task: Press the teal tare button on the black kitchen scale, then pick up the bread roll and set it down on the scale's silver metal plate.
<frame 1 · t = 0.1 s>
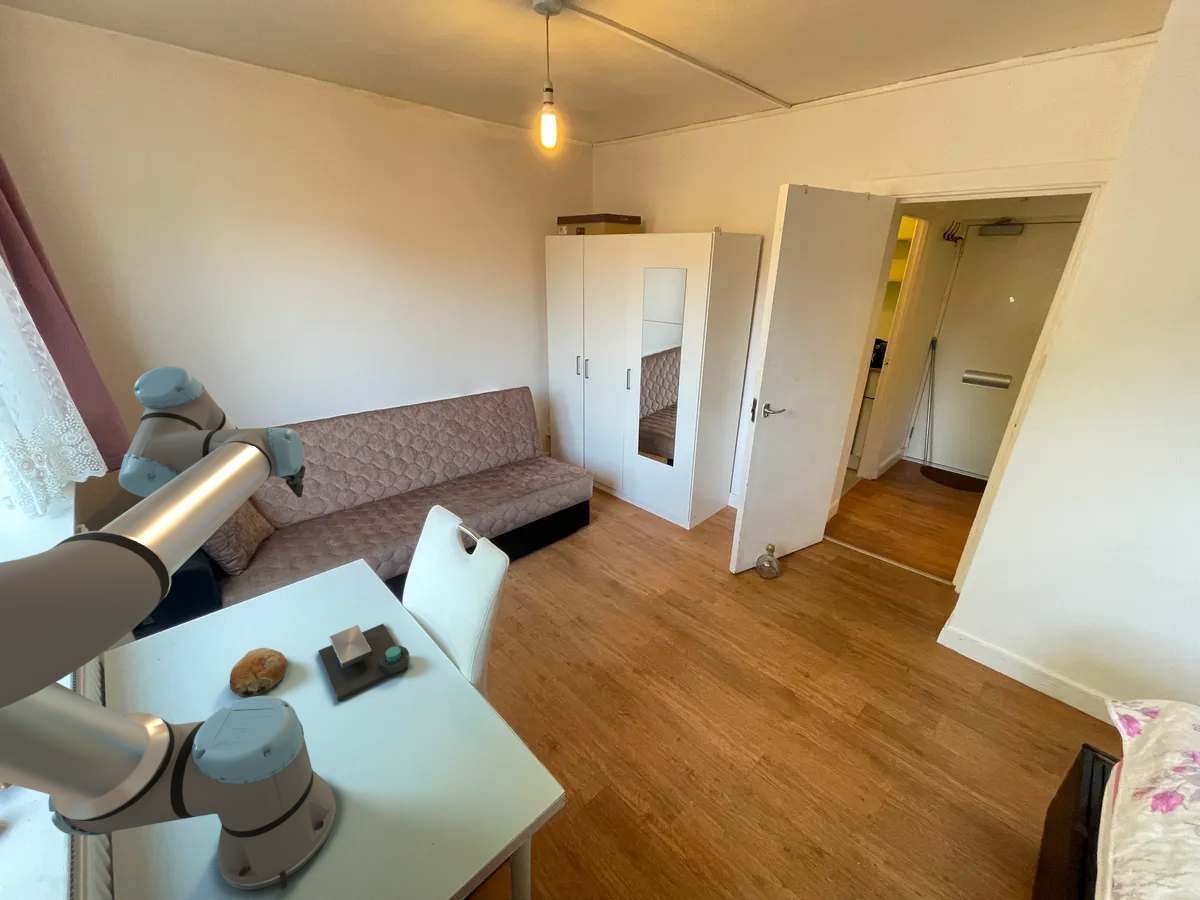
hand: (265, 493, 103), 36 cm above the table, tool tilted 35°, fingers open, 13 cm apart
bread roll: (261, 680, 102), on the table
tare button: (393, 654, 105), point 3 cm above the table, slide at 0.1 cm
scale: (363, 661, 108), on the table
silver metal plate: (353, 659, 108), resting on scale
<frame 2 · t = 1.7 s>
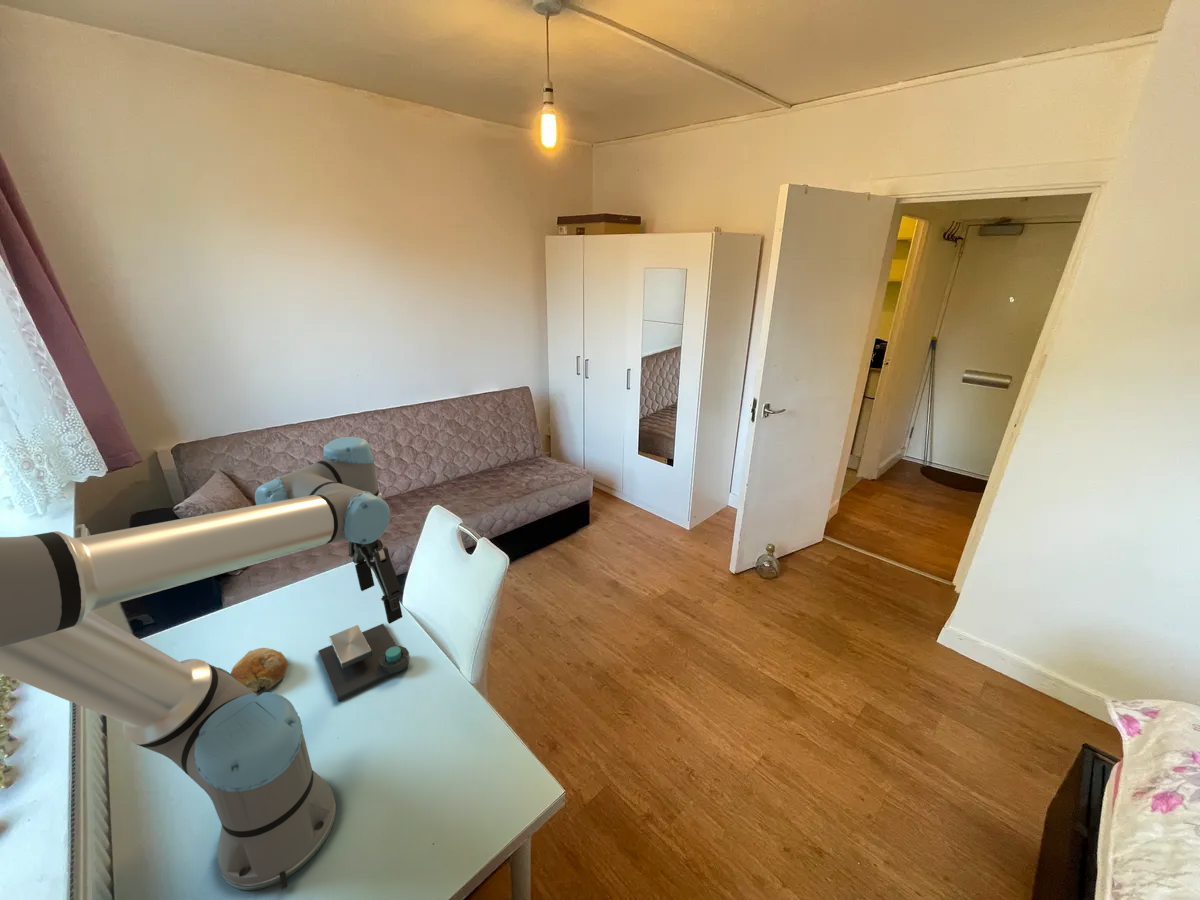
hand: (380, 603, 102), 16 cm above the table, tool pointing down, fingers open, 13 cm apart
nothing on the table moved.
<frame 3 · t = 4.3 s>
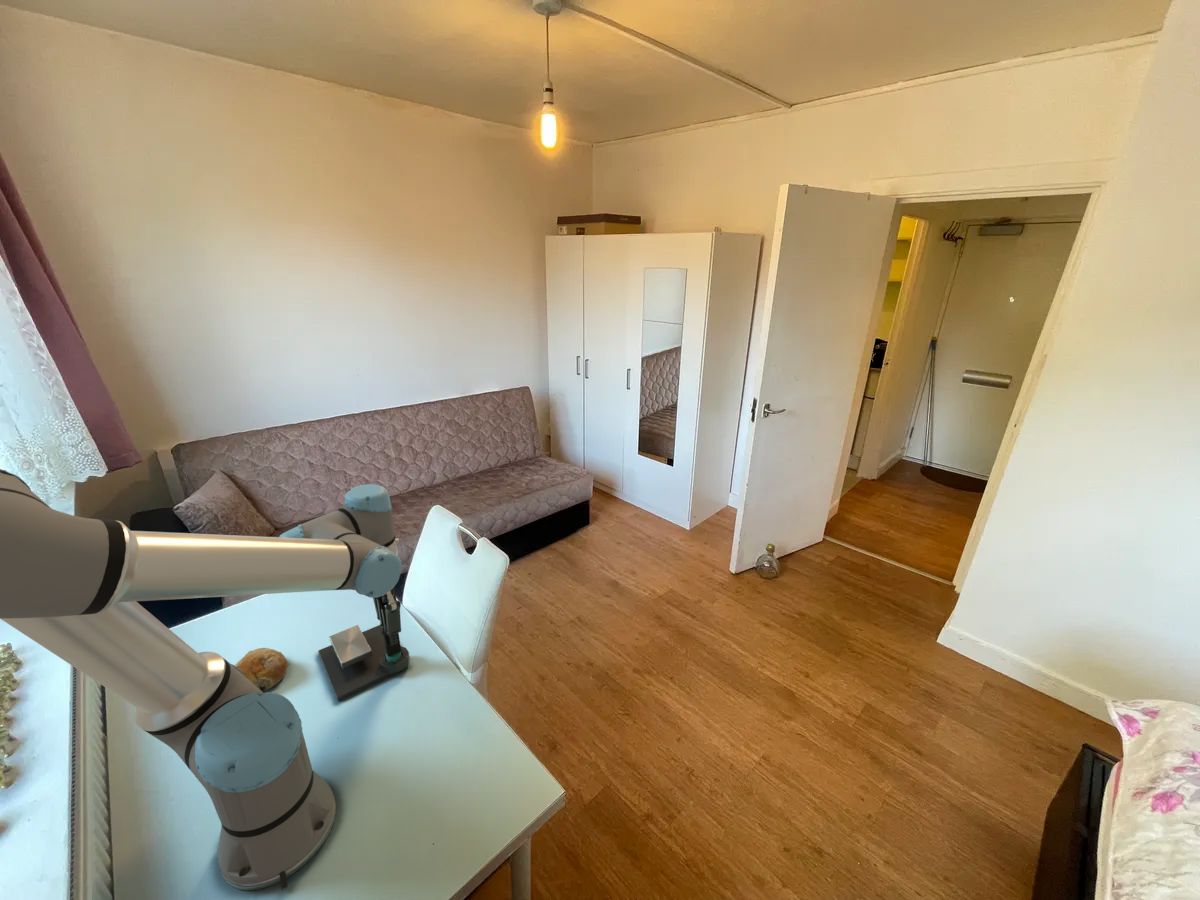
hand: (393, 651, 105), 4 cm above the table, tool pointing down, fingers closed
tare button: (393, 656, 105), point 3 cm above the table, slide at -0.4 cm, touching gripper
everything else where it was.
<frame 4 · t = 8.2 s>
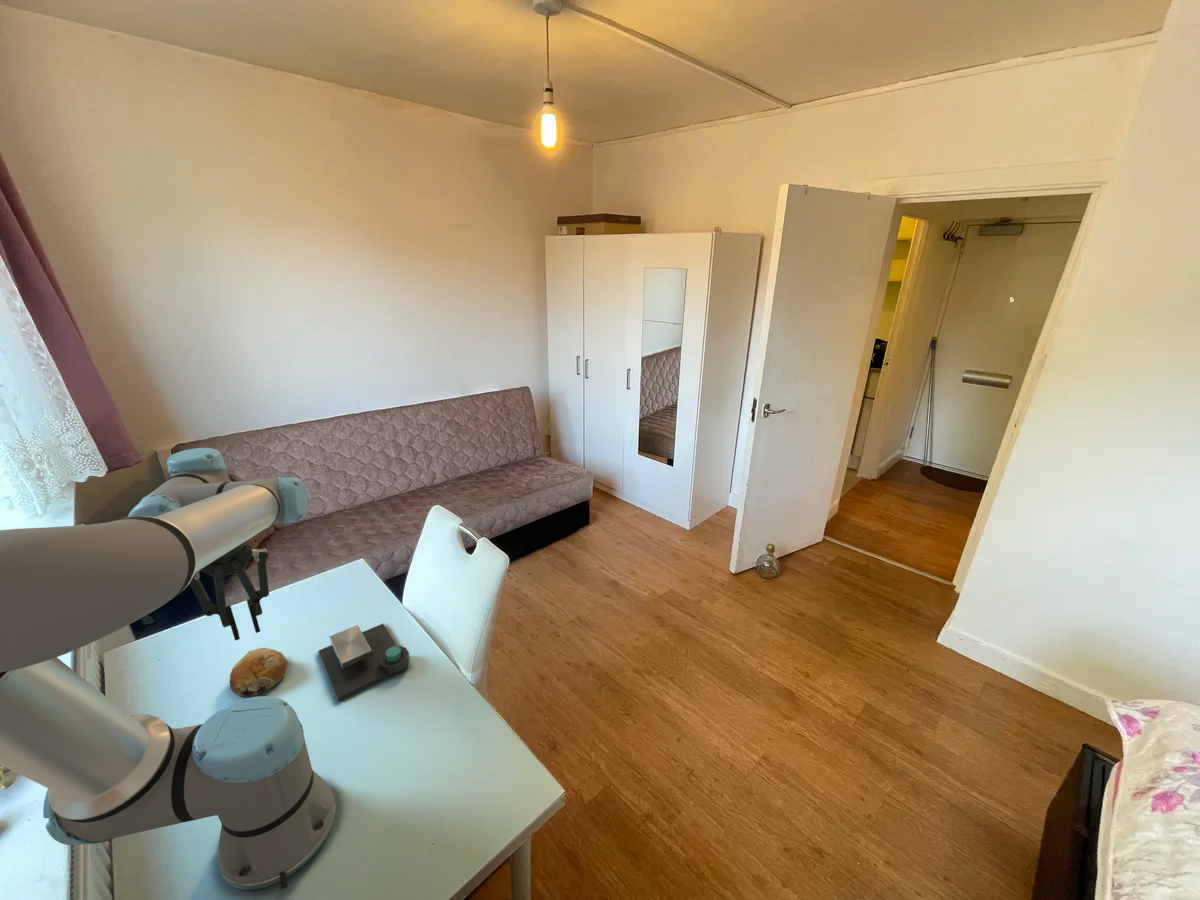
hand: (247, 632, 98), 13 cm above the table, tool pointing down, fingers open, 3 cm apart
tare button: (393, 654, 105), point 3 cm above the table, slide at 0.1 cm
everything else where it was.
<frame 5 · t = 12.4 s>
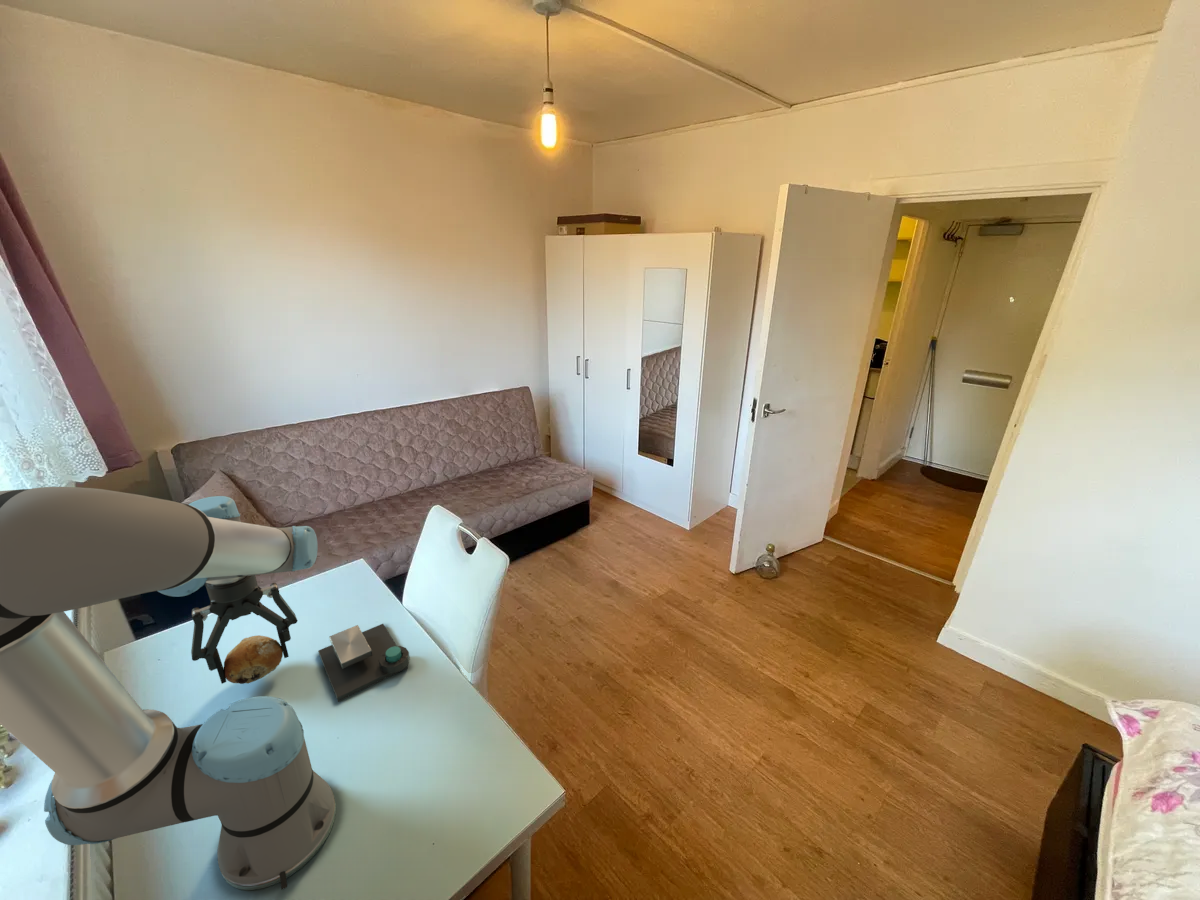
hand: (255, 665, 100), 4 cm above the table, tool pointing down, fingers closed on bread roll, 10 cm apart
bread roll: (255, 668, 100), point 4 cm above the table, touching gripper
everything else where it was.
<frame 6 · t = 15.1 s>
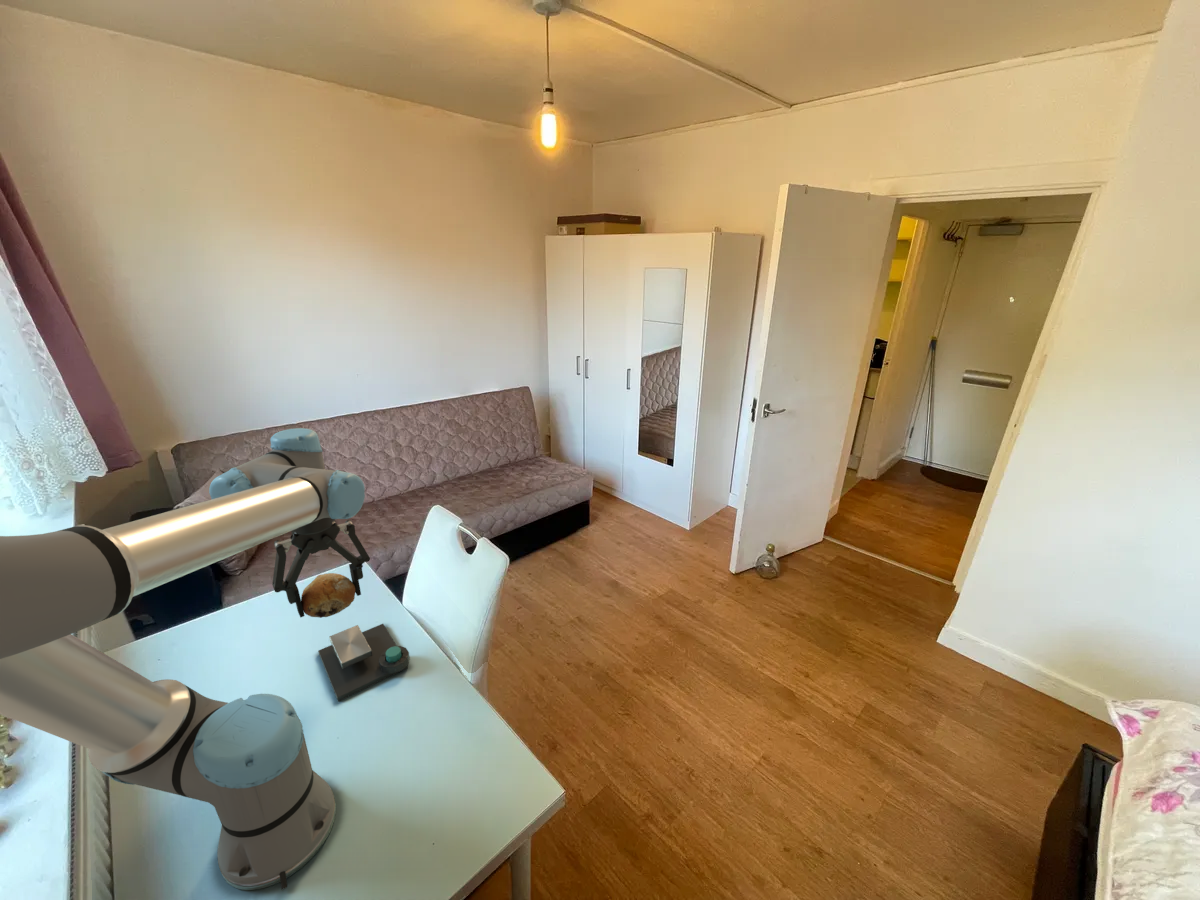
hand: (330, 602, 101), 16 cm above the table, tool pointing down, fingers closed on bread roll, 10 cm apart
bread roll: (330, 604, 102), point 16 cm above the table, touching gripper
everything else where it was.
when the fingers open (5 cm above the table, at t = 18.3 s): bread roll stays where it is, resting on silver metal plate.
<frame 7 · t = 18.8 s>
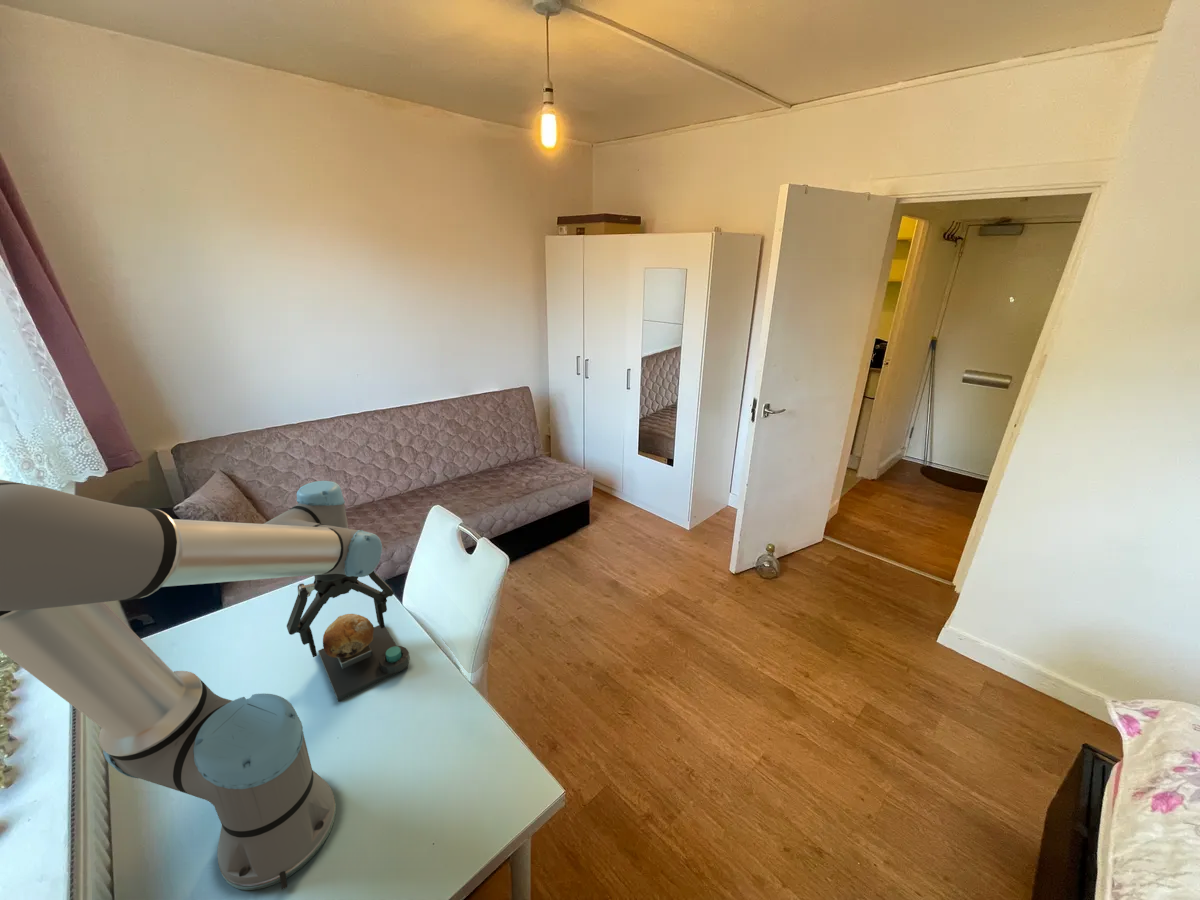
hand: (348, 638, 106), 6 cm above the table, tool pointing down, fingers open, 13 cm apart
bread roll: (349, 644, 106), point 4 cm above the table, touching silver metal plate
everything else where it was.
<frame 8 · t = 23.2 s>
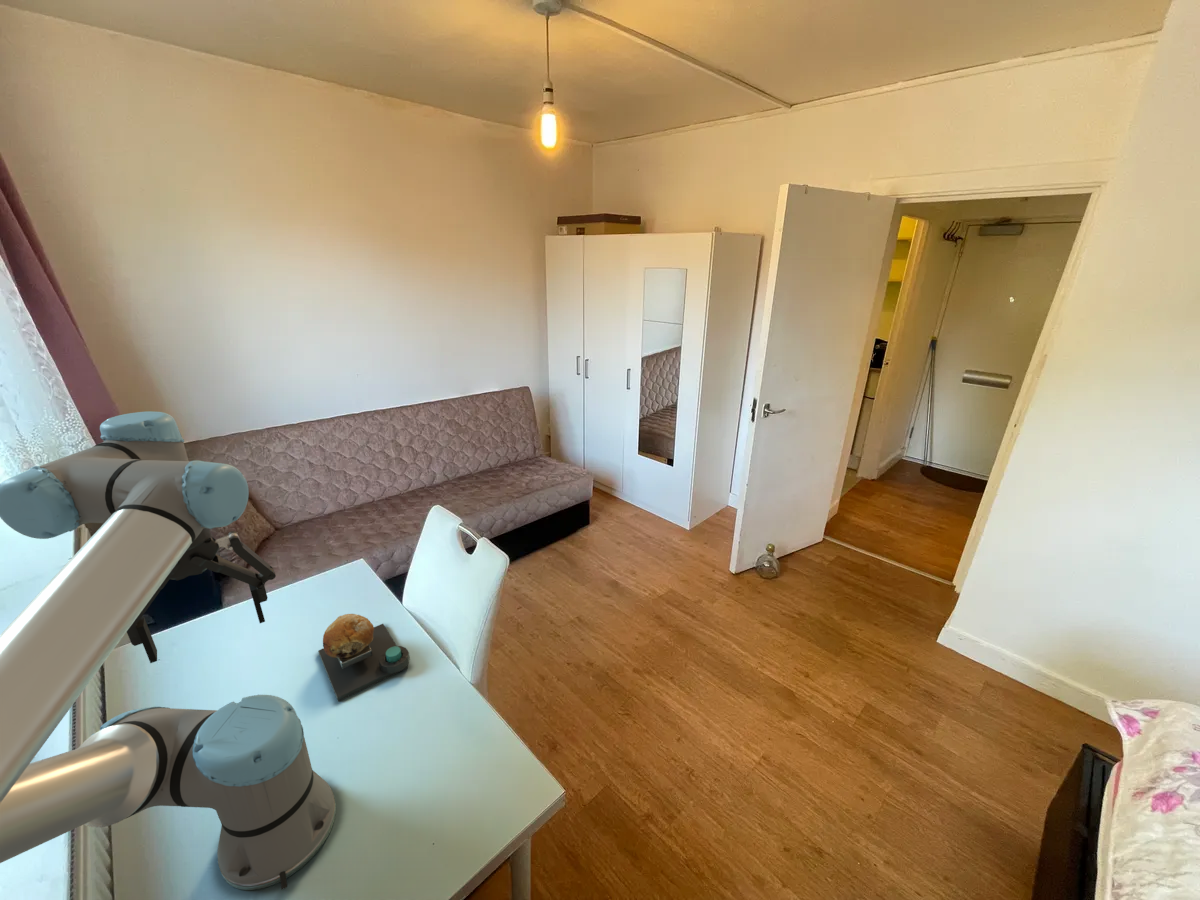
hand: (210, 636, 77), 27 cm above the table, tool pointing down, fingers open, 13 cm apart
nothing on the table moved.
at the end: tare button pushed in 1.0 cm at the most during the clip, back to where it started at the end; tare button slide at 0.1 cm; bread roll inside the target area on the scale (0.0 cm from its centre), point 4.3 cm above the scale's base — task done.
